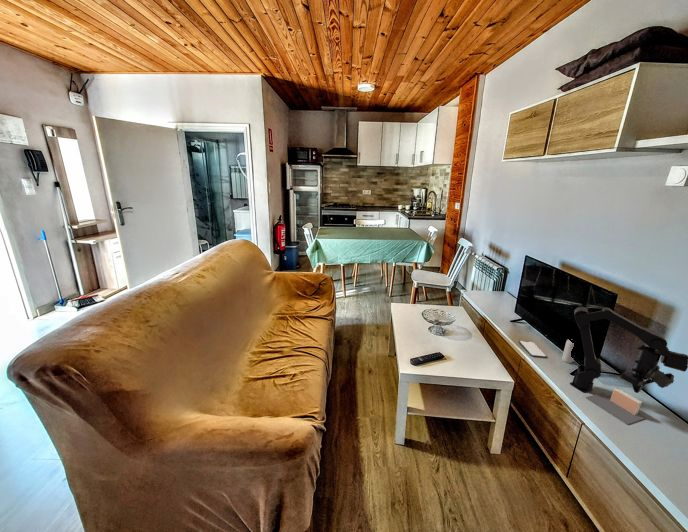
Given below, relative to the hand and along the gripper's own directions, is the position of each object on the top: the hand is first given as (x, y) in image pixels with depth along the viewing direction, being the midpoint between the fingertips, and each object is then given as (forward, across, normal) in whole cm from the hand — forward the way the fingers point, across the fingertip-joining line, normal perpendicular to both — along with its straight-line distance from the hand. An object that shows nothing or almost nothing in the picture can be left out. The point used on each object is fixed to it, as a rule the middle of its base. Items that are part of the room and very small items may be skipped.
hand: (636, 392), depth 130 cm
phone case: (+7, -3, +47) cm, 47 cm away
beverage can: (+7, +6, +33) cm, 34 cm away
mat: (+7, -10, +1) cm, 12 cm away
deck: (+6, -6, 0) cm, 8 cm away
